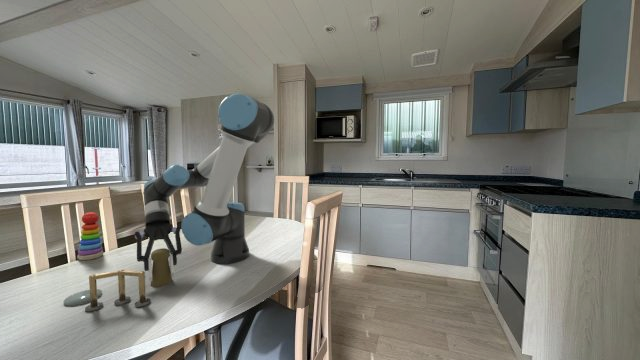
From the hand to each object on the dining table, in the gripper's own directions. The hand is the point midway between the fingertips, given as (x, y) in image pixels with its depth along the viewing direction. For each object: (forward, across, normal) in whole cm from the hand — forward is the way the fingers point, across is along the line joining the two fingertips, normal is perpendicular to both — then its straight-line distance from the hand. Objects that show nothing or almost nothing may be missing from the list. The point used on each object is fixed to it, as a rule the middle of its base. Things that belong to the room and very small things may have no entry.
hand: (161, 276), depth 78 cm
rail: (+6, +10, +1) cm, 12 cm away
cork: (0, 0, -5) cm, 5 cm away
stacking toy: (-30, +22, -35) cm, 51 cm away
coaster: (-1, +19, -6) cm, 20 cm away
